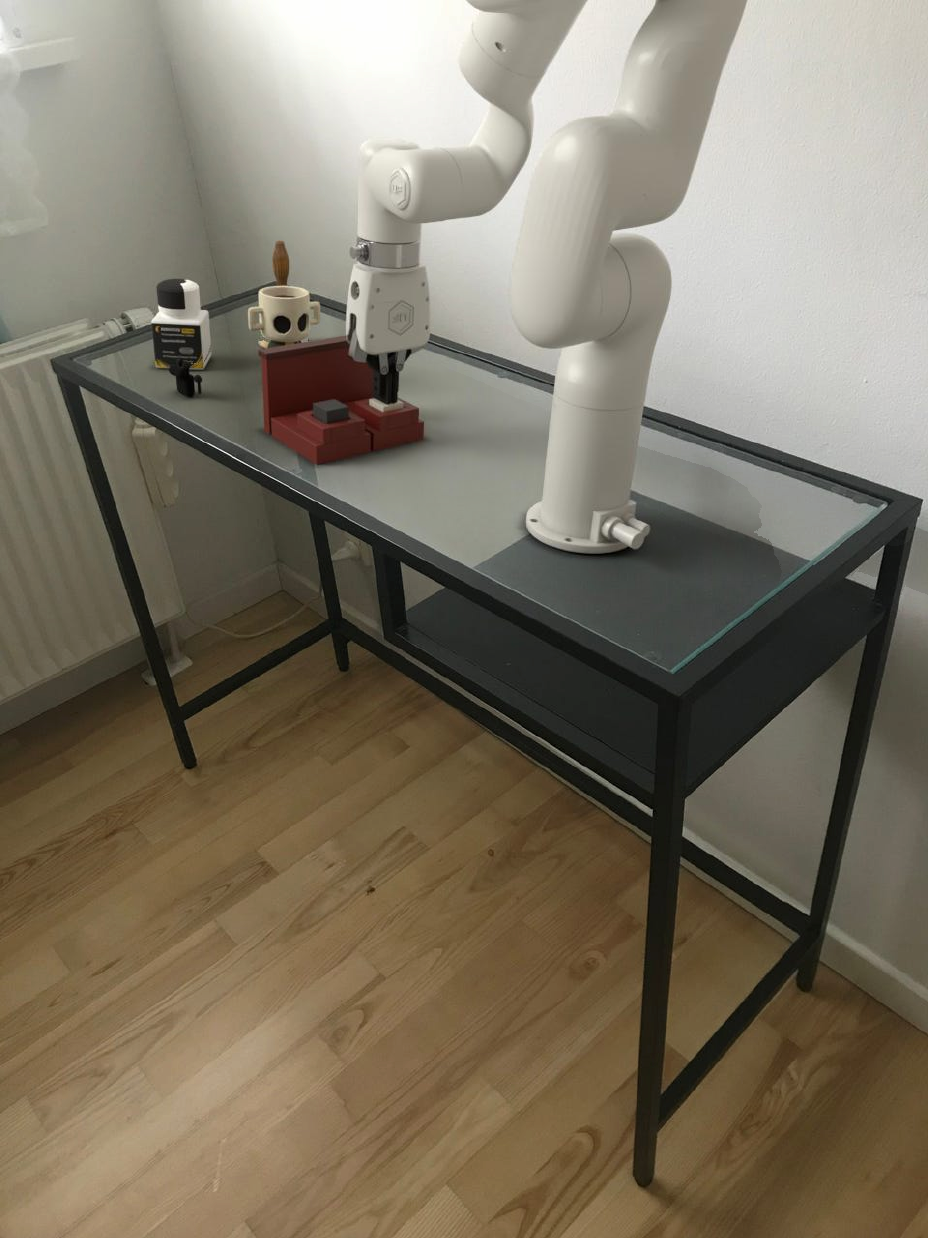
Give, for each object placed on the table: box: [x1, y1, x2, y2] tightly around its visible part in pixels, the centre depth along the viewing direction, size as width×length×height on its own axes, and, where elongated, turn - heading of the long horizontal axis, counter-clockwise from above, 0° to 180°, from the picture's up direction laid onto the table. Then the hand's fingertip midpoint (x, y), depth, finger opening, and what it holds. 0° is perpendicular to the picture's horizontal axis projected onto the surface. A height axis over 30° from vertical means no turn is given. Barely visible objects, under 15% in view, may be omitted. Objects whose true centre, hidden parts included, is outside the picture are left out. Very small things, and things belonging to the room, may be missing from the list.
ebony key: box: [313, 399, 349, 425], centre depth 129 cm, size 3×3×2 cm
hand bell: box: [257, 240, 290, 349], centre depth 164 cm, size 8×8×16 cm
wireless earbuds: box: [168, 358, 203, 398], centre depth 144 cm, size 7×2×5 cm, turn 49°
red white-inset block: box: [343, 397, 425, 452], centre depth 137 cm, size 11×8×4 cm
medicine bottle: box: [150, 278, 212, 371], centre depth 155 cm, size 7×7×12 cm
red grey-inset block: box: [271, 410, 372, 466], centre depth 132 cm, size 11×8×4 cm
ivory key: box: [369, 398, 404, 412], centre depth 134 cm, size 3×3×2 cm
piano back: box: [257, 335, 374, 435], centre depth 137 cm, size 2×17×11 cm, turn 129°
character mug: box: [247, 285, 321, 348], centre depth 150 cm, size 11×7×13 cm, turn 121°
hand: (385, 399), depth 134 cm, fingers closed
